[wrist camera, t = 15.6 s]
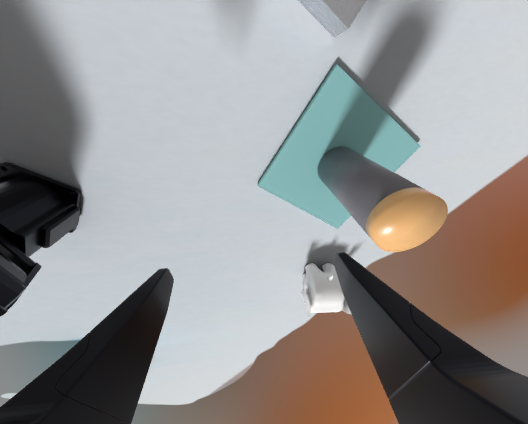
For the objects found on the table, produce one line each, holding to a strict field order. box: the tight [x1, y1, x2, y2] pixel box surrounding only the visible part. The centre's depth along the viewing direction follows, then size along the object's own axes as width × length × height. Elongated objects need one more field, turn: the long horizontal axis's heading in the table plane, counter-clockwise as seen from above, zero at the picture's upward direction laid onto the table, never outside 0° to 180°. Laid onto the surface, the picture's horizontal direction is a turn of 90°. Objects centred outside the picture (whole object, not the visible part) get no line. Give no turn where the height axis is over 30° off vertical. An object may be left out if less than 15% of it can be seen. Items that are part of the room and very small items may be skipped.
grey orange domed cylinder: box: [318, 146, 448, 252], centre depth 16 cm, size 4×4×11 cm
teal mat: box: [258, 65, 420, 229], centre depth 21 cm, size 13×13×1 cm
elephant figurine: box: [301, 263, 351, 316], centre depth 29 cm, size 8×10×7 cm
